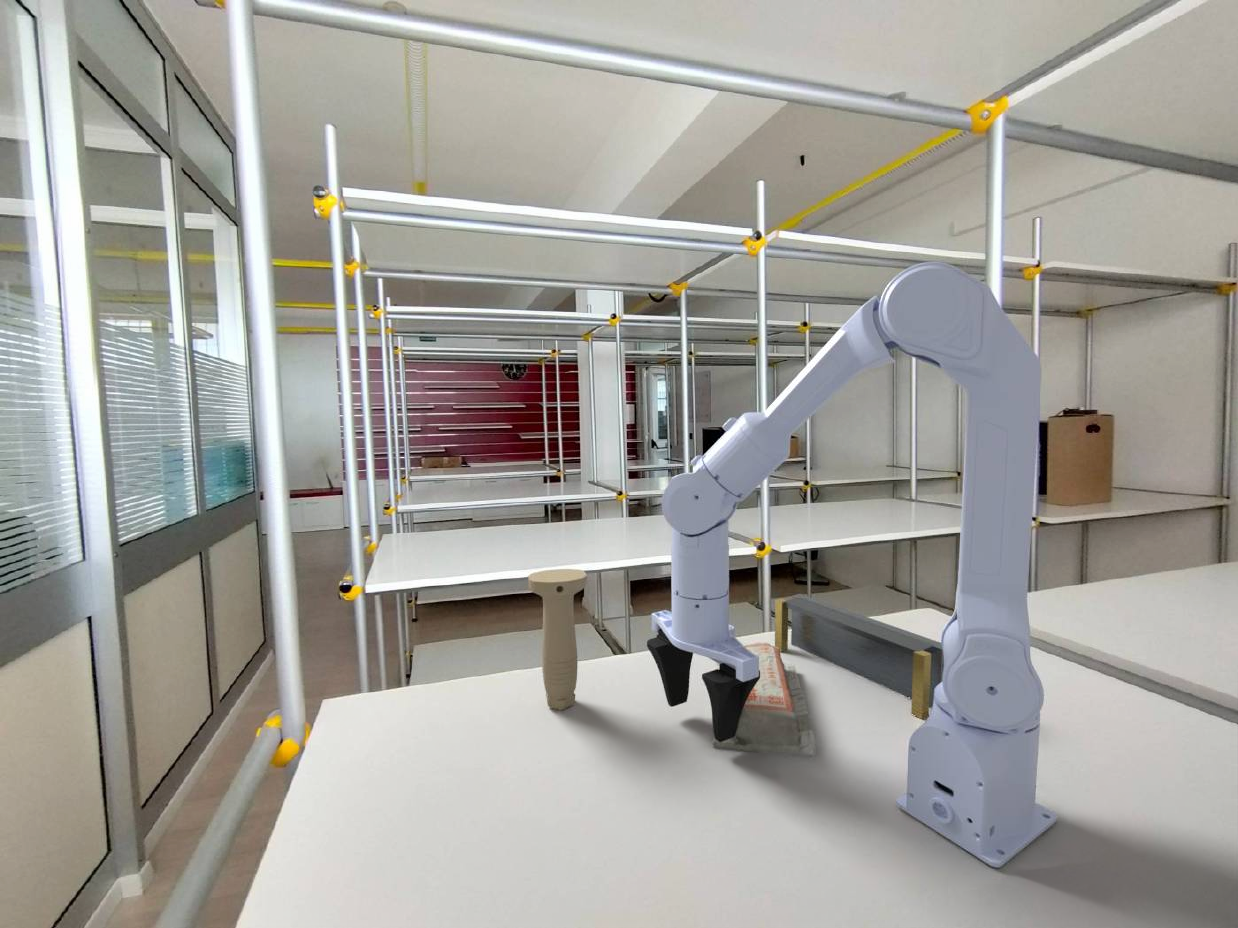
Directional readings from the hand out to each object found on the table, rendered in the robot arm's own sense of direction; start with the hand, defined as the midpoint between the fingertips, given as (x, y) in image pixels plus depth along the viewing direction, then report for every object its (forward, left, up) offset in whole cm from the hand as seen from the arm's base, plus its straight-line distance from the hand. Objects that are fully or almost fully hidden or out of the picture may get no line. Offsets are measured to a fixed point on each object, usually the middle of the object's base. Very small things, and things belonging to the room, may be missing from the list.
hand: (700, 719), depth 58 cm
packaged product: (+9, +1, -2) cm, 9 cm away
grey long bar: (+24, 0, -1) cm, 24 cm away
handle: (-10, +13, -2) cm, 16 cm away
